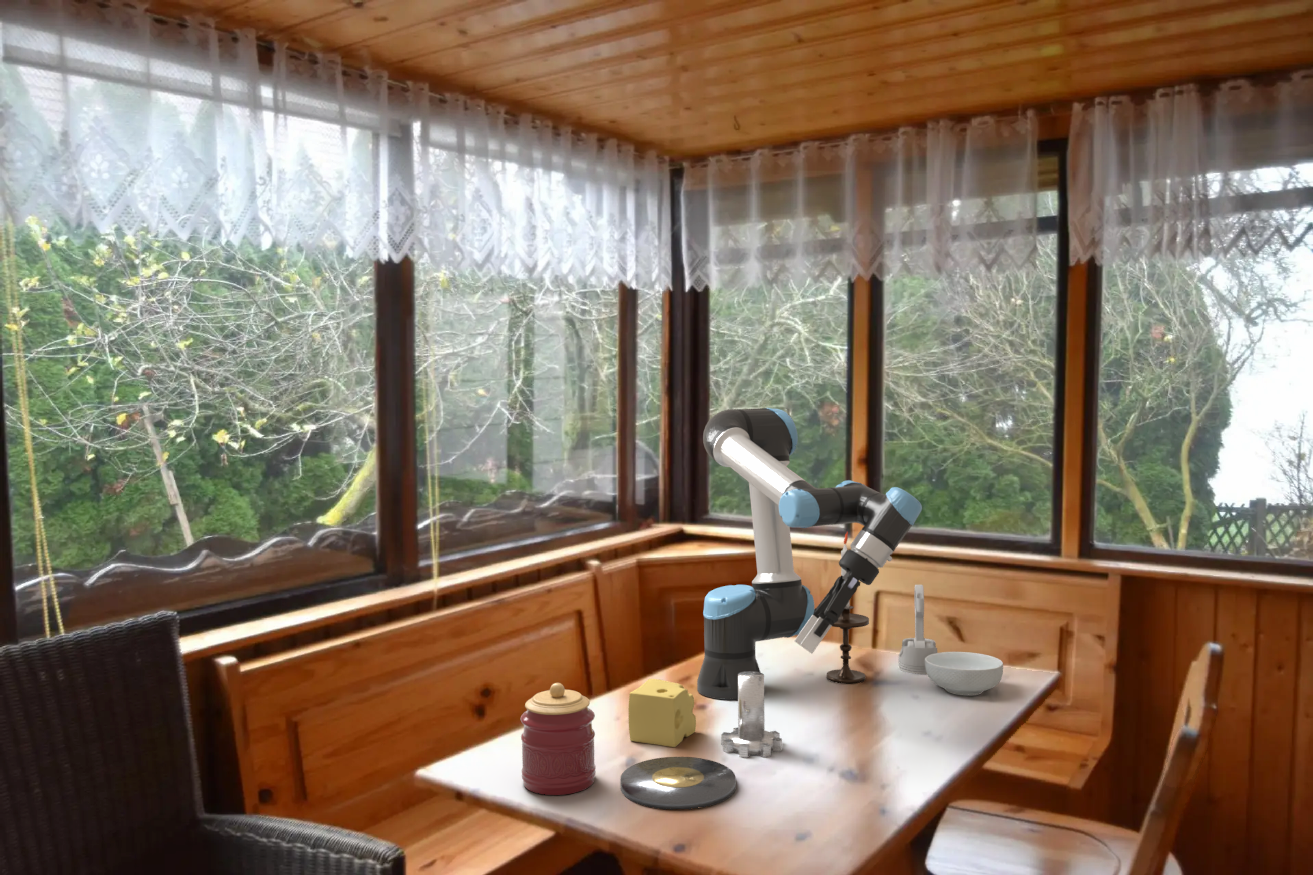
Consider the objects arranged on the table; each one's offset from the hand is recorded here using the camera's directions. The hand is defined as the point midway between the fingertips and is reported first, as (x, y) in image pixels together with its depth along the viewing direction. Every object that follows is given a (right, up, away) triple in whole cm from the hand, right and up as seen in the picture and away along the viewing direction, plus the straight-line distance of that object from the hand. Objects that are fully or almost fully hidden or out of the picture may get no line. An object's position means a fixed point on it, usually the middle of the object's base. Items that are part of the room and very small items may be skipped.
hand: (802, 647), depth 196 cm
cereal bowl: (+41, -17, +31) cm, 54 cm away
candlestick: (+16, -16, +42) cm, 48 cm away
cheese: (-27, -19, +3) cm, 33 cm away
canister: (-46, -20, -19) cm, 54 cm away
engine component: (+36, -16, +50) cm, 63 cm away
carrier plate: (-25, -19, -22) cm, 38 cm away
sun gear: (-10, -18, -3) cm, 21 cm away
